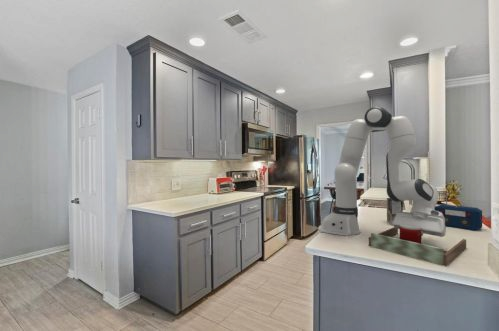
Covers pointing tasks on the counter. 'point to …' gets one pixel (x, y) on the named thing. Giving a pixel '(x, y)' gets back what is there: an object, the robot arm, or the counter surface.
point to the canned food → (411, 233)
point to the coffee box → (393, 209)
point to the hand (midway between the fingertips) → (413, 239)
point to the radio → (461, 216)
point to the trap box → (415, 248)
